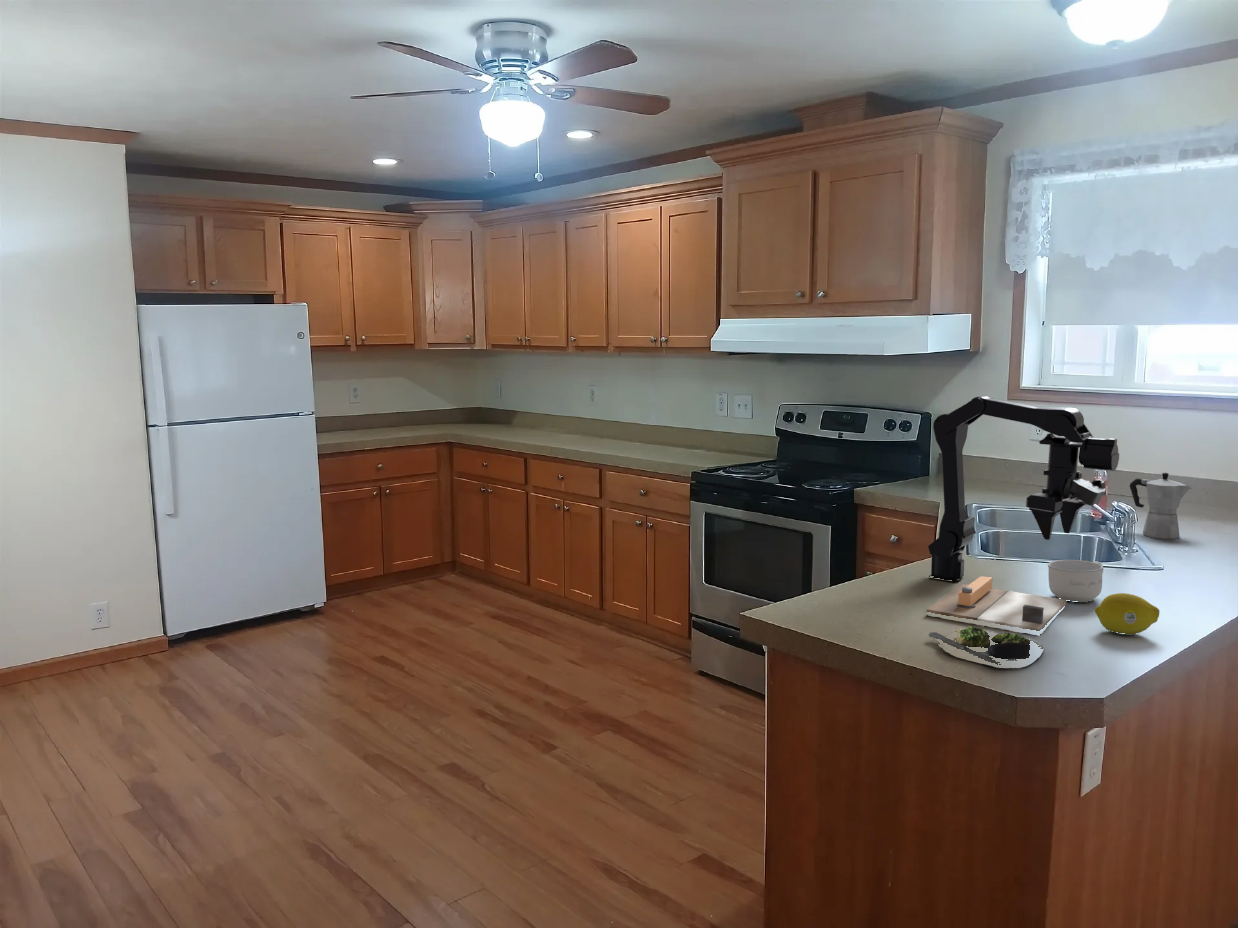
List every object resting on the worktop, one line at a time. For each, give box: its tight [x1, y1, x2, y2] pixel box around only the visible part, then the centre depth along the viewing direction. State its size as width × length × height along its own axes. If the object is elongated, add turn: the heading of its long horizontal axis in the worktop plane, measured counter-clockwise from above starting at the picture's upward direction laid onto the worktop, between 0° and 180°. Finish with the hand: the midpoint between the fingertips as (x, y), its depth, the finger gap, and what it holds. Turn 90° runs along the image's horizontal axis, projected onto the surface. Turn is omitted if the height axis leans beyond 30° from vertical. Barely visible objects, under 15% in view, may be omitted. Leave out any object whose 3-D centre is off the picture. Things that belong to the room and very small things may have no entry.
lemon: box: [1094, 592, 1160, 635], centre depth 174 cm, size 11×8×8 cm
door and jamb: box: [926, 583, 1067, 631], centre depth 189 cm, size 22×23×4 cm
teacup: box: [1047, 559, 1104, 603], centre depth 197 cm, size 14×11×8 cm
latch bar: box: [958, 575, 993, 606], centre depth 194 cm, size 16×2×3 cm, turn 142°
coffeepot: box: [1129, 472, 1193, 540], centre depth 253 cm, size 15×9×18 cm, turn 44°
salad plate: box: [928, 625, 1044, 665], centre depth 167 cm, size 19×18×5 cm
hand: (1057, 536), depth 197 cm, fingers open, 9 cm apart
